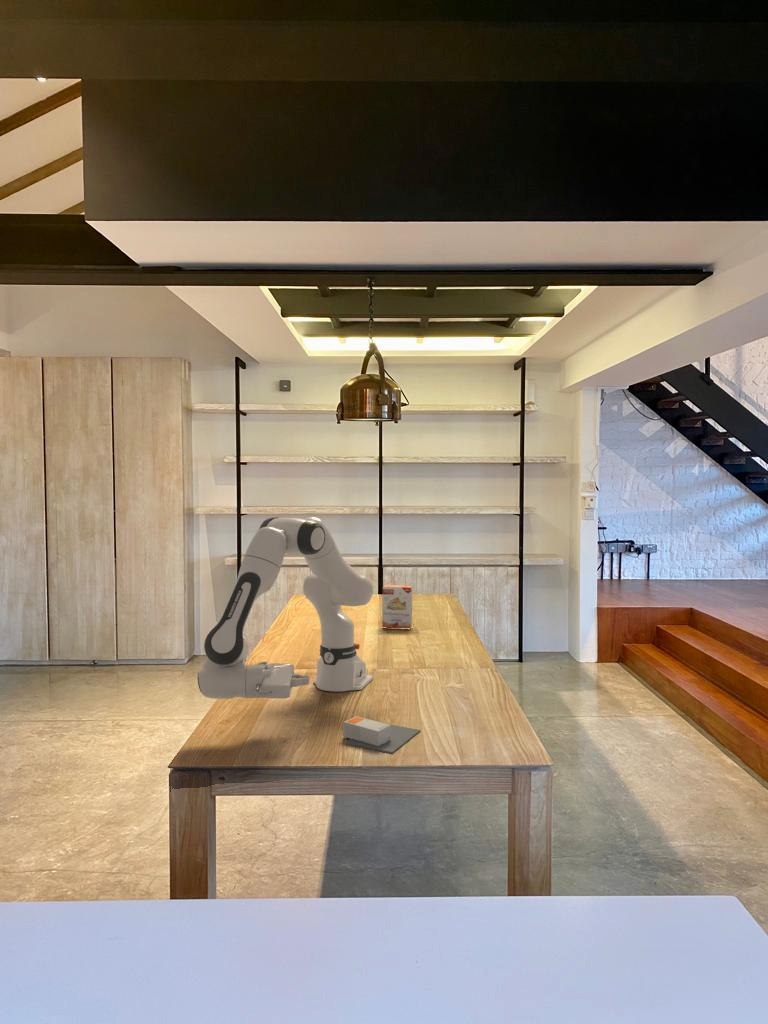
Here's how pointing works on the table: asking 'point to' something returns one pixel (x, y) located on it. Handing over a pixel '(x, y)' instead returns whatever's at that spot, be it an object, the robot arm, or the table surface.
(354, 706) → the table surface
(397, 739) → the mat
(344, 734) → the skincare box
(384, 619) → the cracker box
